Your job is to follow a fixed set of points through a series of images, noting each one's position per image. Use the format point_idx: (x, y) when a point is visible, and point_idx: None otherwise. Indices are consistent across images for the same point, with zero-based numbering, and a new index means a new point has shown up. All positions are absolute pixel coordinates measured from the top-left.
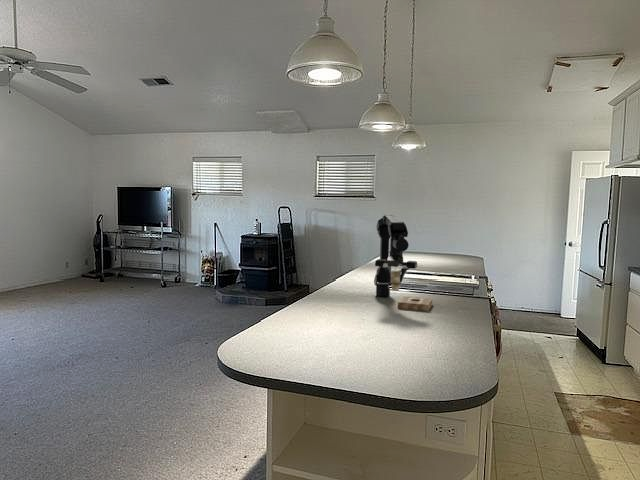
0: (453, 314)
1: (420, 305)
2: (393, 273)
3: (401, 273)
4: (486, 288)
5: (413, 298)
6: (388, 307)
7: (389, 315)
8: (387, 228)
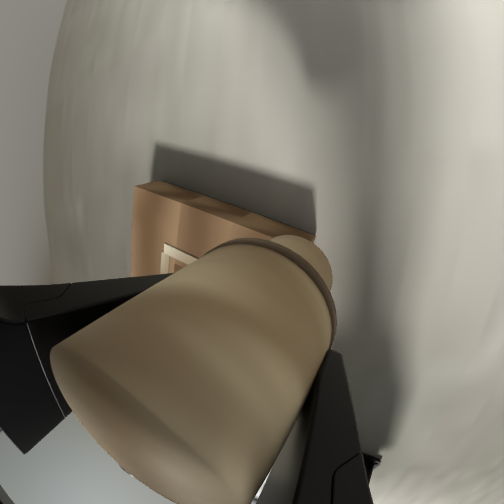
0: (91, 152)
1: (171, 195)
2: (181, 382)
3: (44, 309)
4: None
5: None
6: (372, 273)
7: (379, 51)
8: None
